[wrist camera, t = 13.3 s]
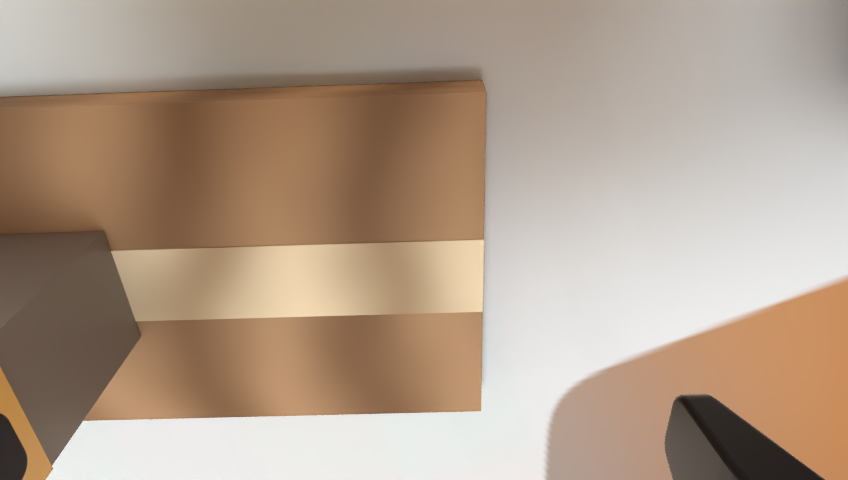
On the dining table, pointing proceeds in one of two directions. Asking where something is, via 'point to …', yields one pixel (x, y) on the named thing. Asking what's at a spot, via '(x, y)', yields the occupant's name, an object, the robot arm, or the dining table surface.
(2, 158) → the cardboard box
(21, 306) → the gift box with lid
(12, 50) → the dining table surface
